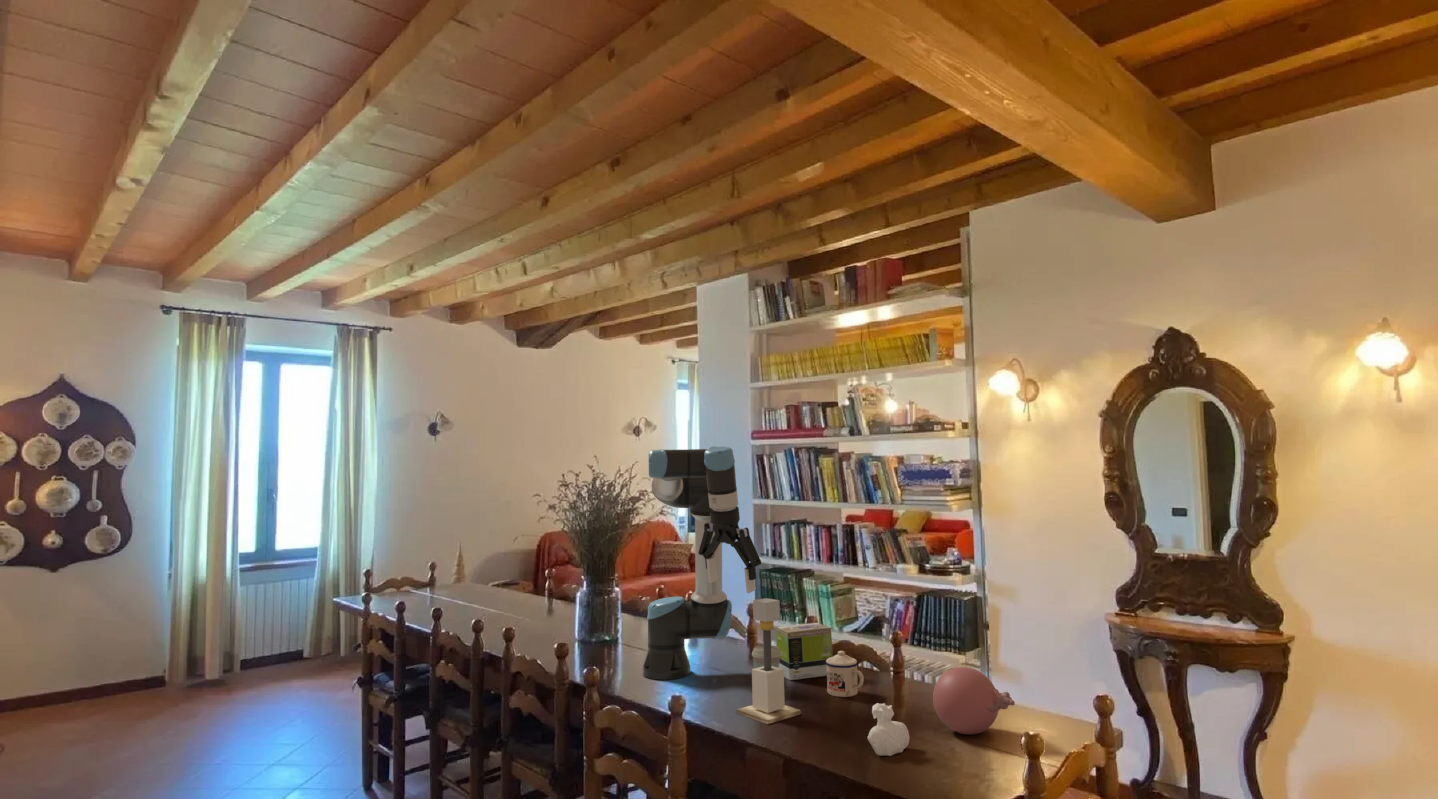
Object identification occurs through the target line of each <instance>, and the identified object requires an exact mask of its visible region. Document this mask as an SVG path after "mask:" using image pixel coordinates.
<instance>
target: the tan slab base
mask: <svg viewBox="0 0 1438 799" xmlns="http://www.w3.org/2000/svg"><path fill="white" fill-rule="evenodd" d="M736 714H737V715H741V716H743V717H746V718H748V719H752V720H755V721H757V722H760V723H763V724H766V725H769V724H773V723H776V722H780V721H783V720H786V719H787V720H788V719H790V718H793V717H796V716H800V715H802V710H801V709H798V708H795V707H792V706H789V705H786V704H785V708H783V709H780V710H776V711H773V712H770V713H767V712H764V711H761V710H758V709H755V708H753V704H751V705H748V706H744V707H741V708H737V709H736Z"/></svg>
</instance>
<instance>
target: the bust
mask: <svg viewBox="0 0 1438 799" xmlns="http://www.w3.org/2000/svg"><path fill="white" fill-rule="evenodd" d="M871 714H872V716H873V719H874V720H875V719H877V720H876V722H877V723H876V725H874V726H873V727H872V728H871V729H870V730H869V733H868V736H867V740H868V742H869V743H870V745H871V747H872V749H873V750H874V752H875V754H876V755H877V756H881V757H882V756H888V757H891V756H893V755H895V754H896V755H897V754H899V753H903V751H904V749H906V748H907V747H908V745H909V743H910V734H909V731H910V730H909V729H908V728H907V726H906V724H904V722H900V721H894V720H892V719H893V717H894V715H895V712H894V710H893V704H892V705H887V704H886V703H880V702H879V703H878V702H877V703H875V704H873V705H872V708H871Z"/></svg>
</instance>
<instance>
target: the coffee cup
mask: <svg viewBox="0 0 1438 799" xmlns="http://www.w3.org/2000/svg"><path fill="white" fill-rule="evenodd" d="M751 656H752V660H753V669H754V668H758V667H763V666H764V646H763V645H756V646H755V647H753V650H752V652H751ZM780 656H781V654H780V651H779V648H778V647H777V645H771V666H773V667H777V668H779V660H780Z"/></svg>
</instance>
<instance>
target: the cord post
mask: <svg viewBox="0 0 1438 799" xmlns="http://www.w3.org/2000/svg"><path fill="white" fill-rule="evenodd" d="M780 602H781V601H780V600H779V599H774V598H769V597H765V598H761V599H753V601H752V610H753V612H752V614H753V615H752V616H753V620H755V621H759V629H760V630H761V631H762V634H763V635H762V638H763V640H762V641H763V642H762V643H763V646H764V670H765V671H771V670H772V667H771V646H772V637H771V634H772V633H771V631H774V628H775V627H774V626H775V625H774V621H779V620H781V612H780V611H781V610H780V609H781V608H780V606H781V605H780Z"/></svg>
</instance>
